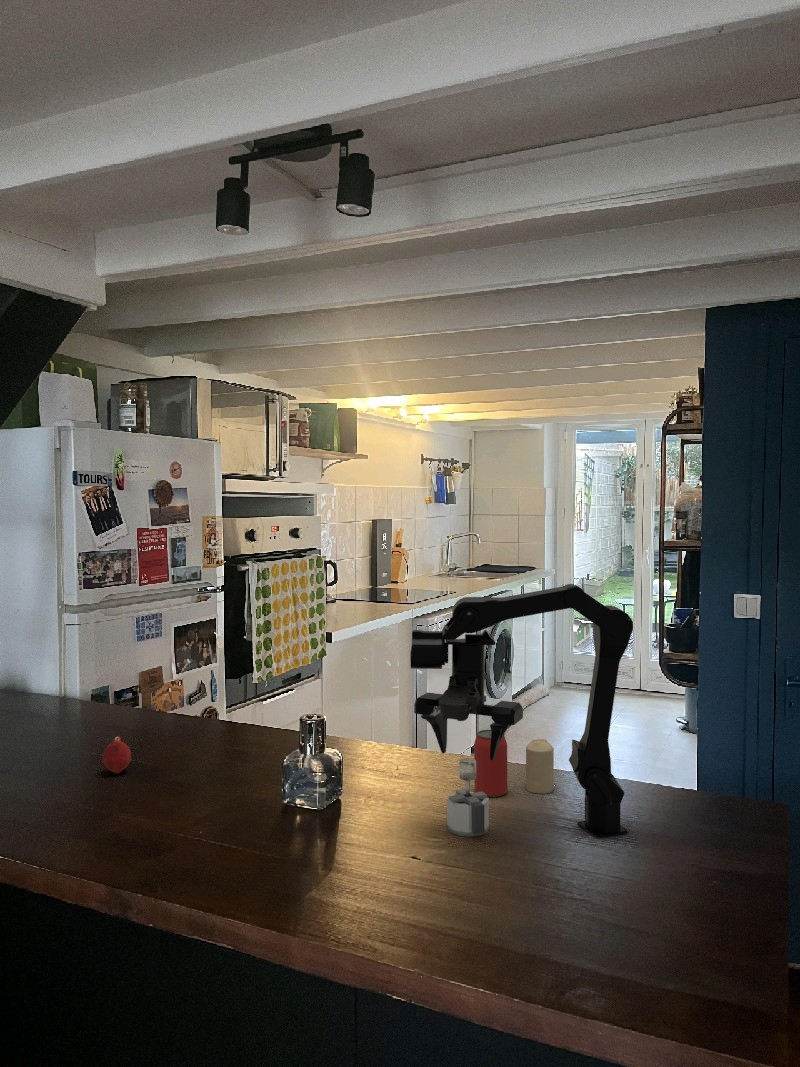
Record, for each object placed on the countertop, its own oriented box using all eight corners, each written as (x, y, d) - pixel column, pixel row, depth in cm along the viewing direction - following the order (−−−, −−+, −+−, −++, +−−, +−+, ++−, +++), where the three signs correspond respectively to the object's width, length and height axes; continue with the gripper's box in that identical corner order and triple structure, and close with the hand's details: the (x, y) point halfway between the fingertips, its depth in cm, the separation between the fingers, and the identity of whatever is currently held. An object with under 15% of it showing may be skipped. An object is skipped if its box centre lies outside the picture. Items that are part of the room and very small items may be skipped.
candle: (545, 796, 162) (545, 746, 162) (521, 790, 166) (521, 741, 165) (558, 788, 167) (558, 739, 166) (534, 782, 170) (534, 735, 170)
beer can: (506, 799, 161) (506, 738, 160) (472, 797, 162) (472, 737, 161) (508, 787, 167) (508, 729, 167) (476, 785, 168) (476, 728, 168)
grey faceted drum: (498, 835, 143) (498, 801, 143) (460, 842, 141) (460, 807, 140) (477, 818, 151) (477, 786, 151) (441, 824, 148) (441, 791, 148)
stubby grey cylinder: (485, 806, 145) (485, 763, 144) (461, 810, 143) (461, 766, 143) (474, 797, 149) (473, 755, 149) (450, 801, 147) (450, 758, 147)
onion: (125, 778, 175) (125, 741, 175) (99, 778, 175) (98, 741, 175) (135, 769, 181) (134, 733, 180) (109, 769, 181) (108, 733, 181)
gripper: (401, 672, 142) (400, 762, 143) (504, 683, 134) (503, 777, 135) (426, 661, 152) (426, 744, 153) (524, 670, 144) (523, 758, 145)
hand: (467, 756), depth 146 cm, fingers open, 9 cm apart
